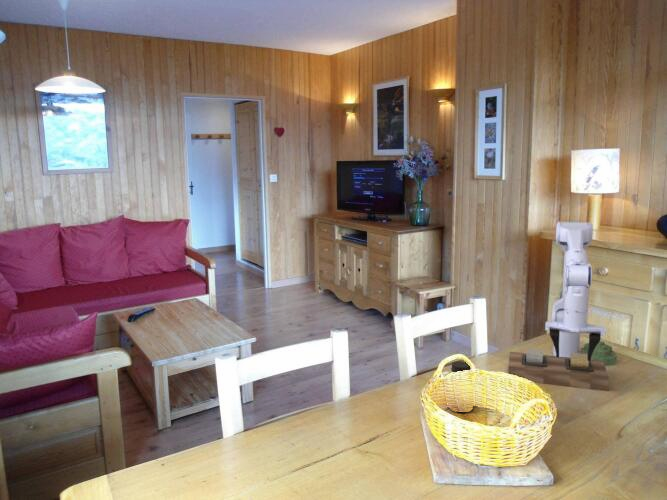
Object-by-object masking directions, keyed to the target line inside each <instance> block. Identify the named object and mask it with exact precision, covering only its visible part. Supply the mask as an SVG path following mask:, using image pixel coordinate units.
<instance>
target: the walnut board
mask: <svg viewBox="0 0 667 500" xmlns="http://www.w3.org/2000/svg"><path fill="white" fill-rule="evenodd" d="M569 365H570V358H569V357H556V356H553V355H546V354H543V364H537V363H527V362H526V352H525V353H524V352H516V351H509V358H508V365H507V366H508V367H507V369H508V370H507V374H508V373H509V374H513V375H517V376H519V377H523V378H526V379H528V380H531V381H533V382H535V383H534V384H541V385H551V386H558V387H559V386H561V387H569V388H578V389H585V390H596V391H603V392H608V391H609V379H610V377H609V374H608V371H607V369H606V366H605V365H604V362H603V361H600V360H591V361H589V364H588V369H586V368H576V367H570V366H569ZM533 382H532V383H533Z"/></svg>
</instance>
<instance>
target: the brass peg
mask: <svg viewBox="0 0 667 500" xmlns="http://www.w3.org/2000/svg"><path fill="white" fill-rule="evenodd" d="M588 364H589V361H588V359H587V354H581V352H580V353H570V365H569V366H570V367H576V368H586V369H588Z"/></svg>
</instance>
